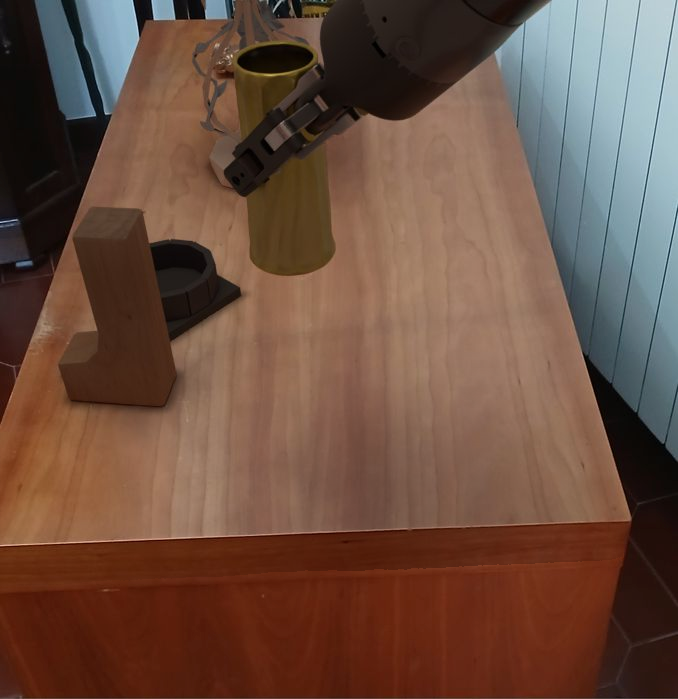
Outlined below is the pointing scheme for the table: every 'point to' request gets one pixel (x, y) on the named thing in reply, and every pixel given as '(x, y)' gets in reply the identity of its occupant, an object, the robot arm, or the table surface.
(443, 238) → the table surface
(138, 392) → the wooden block
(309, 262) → the vase
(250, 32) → the table lamp
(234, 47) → the ornament
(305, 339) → the table surface
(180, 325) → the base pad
